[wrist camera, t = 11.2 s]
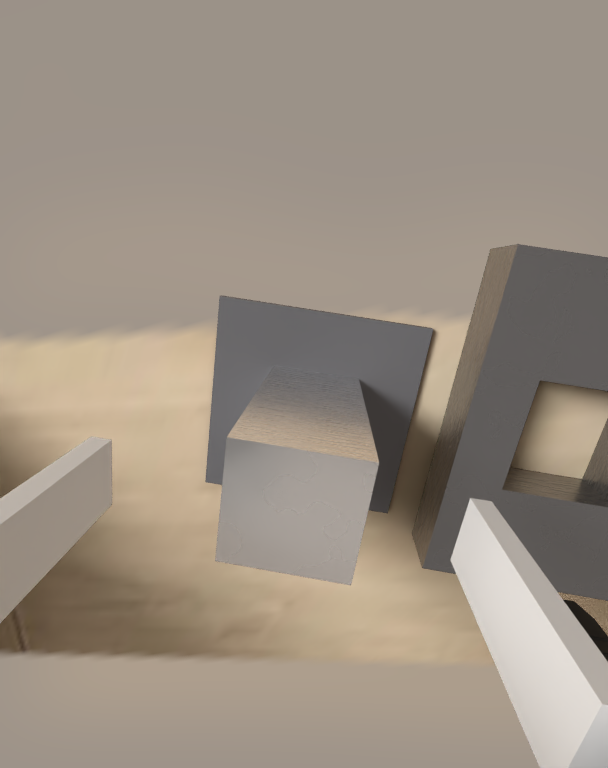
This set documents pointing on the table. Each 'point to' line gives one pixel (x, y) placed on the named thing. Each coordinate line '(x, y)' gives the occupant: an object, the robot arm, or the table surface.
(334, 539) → the rectangular peg block
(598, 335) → the square hole plate
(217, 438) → the rubber pad
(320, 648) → the table surface
